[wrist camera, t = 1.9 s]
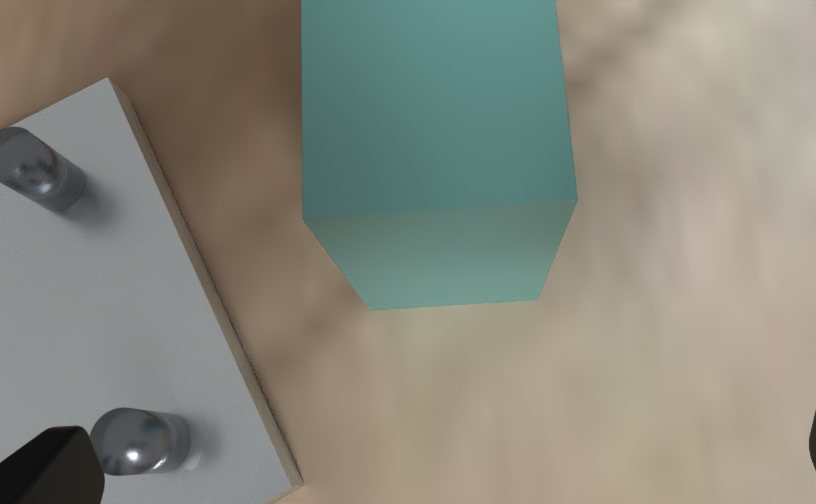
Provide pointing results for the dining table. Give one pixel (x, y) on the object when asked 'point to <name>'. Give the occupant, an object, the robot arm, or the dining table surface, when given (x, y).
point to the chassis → (122, 317)
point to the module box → (436, 147)
